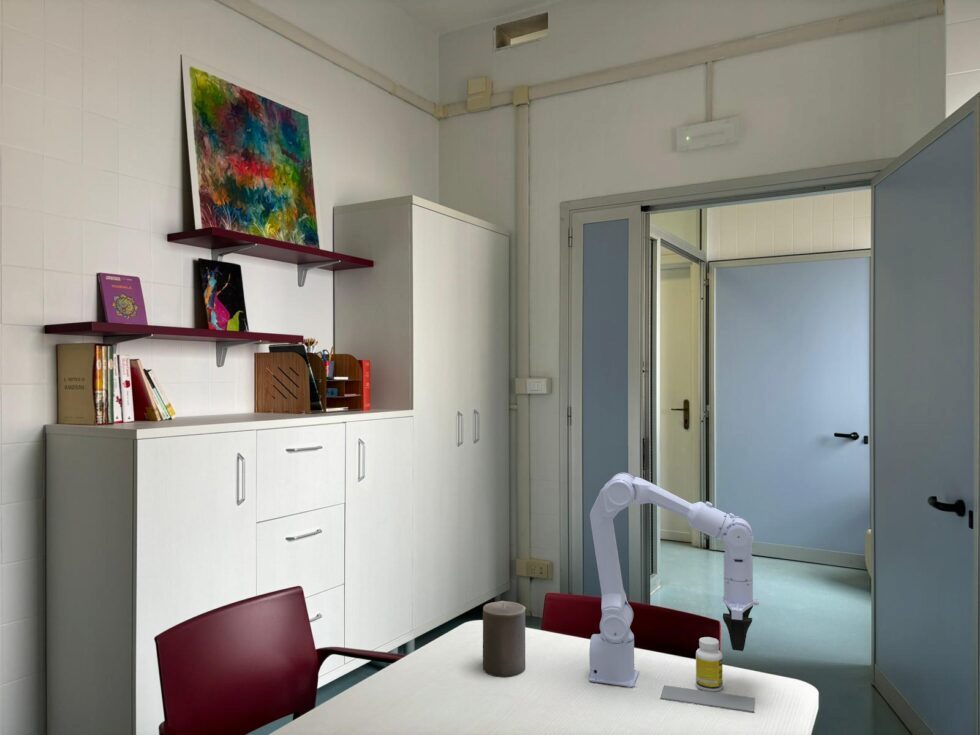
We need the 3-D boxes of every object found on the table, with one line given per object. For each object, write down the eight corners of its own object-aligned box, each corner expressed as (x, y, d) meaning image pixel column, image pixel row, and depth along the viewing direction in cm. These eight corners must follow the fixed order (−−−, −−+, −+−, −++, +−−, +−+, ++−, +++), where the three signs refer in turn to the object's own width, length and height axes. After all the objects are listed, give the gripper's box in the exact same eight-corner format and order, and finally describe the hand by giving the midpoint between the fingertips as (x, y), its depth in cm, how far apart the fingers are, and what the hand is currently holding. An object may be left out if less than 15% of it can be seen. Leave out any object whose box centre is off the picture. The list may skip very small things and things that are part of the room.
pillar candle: (488, 679, 157) (488, 610, 157) (478, 661, 167) (478, 596, 167) (531, 675, 159) (531, 607, 159) (519, 657, 169) (519, 593, 169)
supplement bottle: (724, 693, 149) (723, 646, 149) (697, 691, 150) (696, 644, 150) (721, 682, 154) (720, 636, 154) (695, 680, 155) (694, 634, 155)
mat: (660, 698, 147) (660, 697, 147) (663, 686, 152) (663, 685, 152) (754, 712, 141) (754, 711, 141) (754, 699, 146) (754, 697, 146)
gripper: (758, 590, 141) (758, 659, 142) (759, 570, 155) (759, 633, 155) (720, 586, 144) (721, 654, 144) (724, 566, 158) (725, 629, 158)
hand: (738, 643), depth 150 cm, fingers open, 7 cm apart
